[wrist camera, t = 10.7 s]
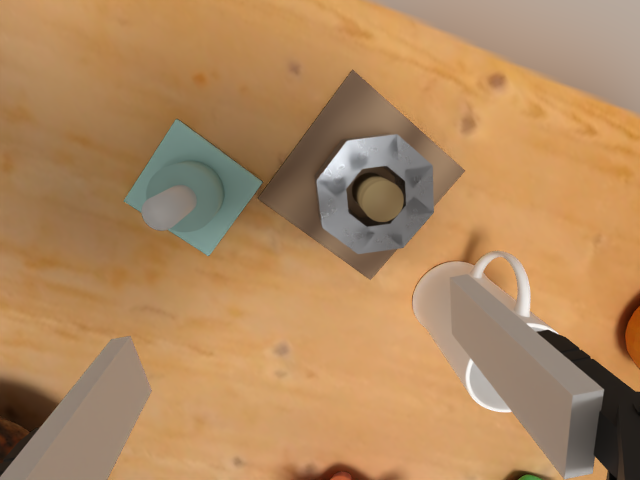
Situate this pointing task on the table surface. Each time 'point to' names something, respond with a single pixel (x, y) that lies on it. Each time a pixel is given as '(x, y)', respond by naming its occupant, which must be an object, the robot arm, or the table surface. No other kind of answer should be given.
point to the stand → (192, 189)
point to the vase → (9, 436)
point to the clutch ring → (409, 177)
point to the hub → (370, 184)
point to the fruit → (634, 337)
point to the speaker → (529, 477)
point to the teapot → (341, 476)
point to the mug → (436, 318)
